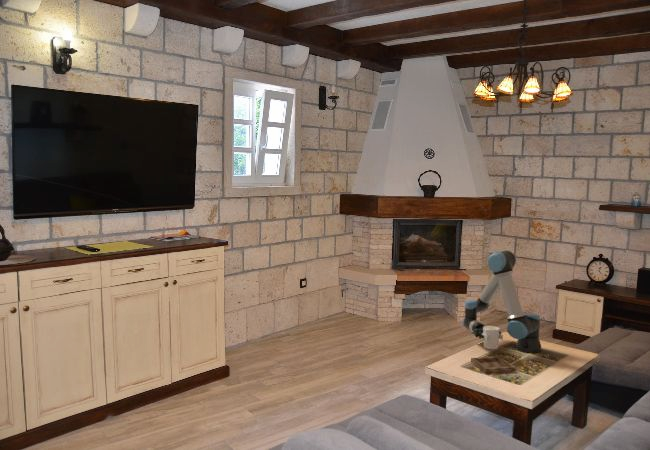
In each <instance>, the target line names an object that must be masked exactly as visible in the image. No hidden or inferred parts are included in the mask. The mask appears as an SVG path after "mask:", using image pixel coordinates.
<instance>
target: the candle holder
mask: <svg viewBox="0 0 650 450" xmlns="http://www.w3.org/2000/svg"><path fill="white" fill-rule="evenodd" d="M500 329H501V328H500V327H498V326H494V325H484V327H483V334H485V335H486V336H488V341H486V340H484V339H483V338H482V339H483V347H484V348H485V349H488V350H497V349H499V331H500ZM500 332H501V331H500Z"/></svg>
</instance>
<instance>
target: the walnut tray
mask: <svg viewBox="0 0 650 450" xmlns="http://www.w3.org/2000/svg"><path fill="white" fill-rule="evenodd" d="M470 363H471V364H472V365H473V366H475V367H476V368H478V369H479V370H480V371H482V372H483V373H484V374H486V375H487V374H498V373H499V374H500V373H502V374H503V373H513V372H516V366H514V365H513V364H511V363H509V362H508V361H507V360H506V359H504V358H503V357H501V356H481V357H479V356H478V357H471V358H470Z"/></svg>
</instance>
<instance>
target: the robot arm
mask: <svg viewBox="0 0 650 450" xmlns="http://www.w3.org/2000/svg"><path fill="white" fill-rule="evenodd" d="M516 262H517V257H516V255H515V254H514V253H513V252H512V251H510V250H503V251H502V250H501V251H498V252H497V251H496V252H494V253H491V254H490V255H489V257H488V258H487V267H488V269H489V270H490V271H491V272H492V273H493V274H492V275H491V277H490V278H489V280H488V282H487V284H485V286H484V288H483V290H482V291H481V293H480V295H478V298H477V299H476V300H475V299H466V300H465V303H464V317H463V319H462V321H461V322H462V326H464V327H465V329H468V331H471V334H472V335H474V337H475V338H478V339H484V340H486V341H488V336H486V335H485V334H483V327H484V326H485V324H483V323H481V322H479V321H478V319H477V318H478V313H481V312H484V311H487V310H488V309H489V307H490V303H491V300H492V299H493V298H494V296H495V294H496V293H497V291H498V289H499V288H500V290H501V291H500V292H501V294H502V297H503V300H504V304H505V307H506V311H507V317H506V319H507V325H506V332H507V333H508V335H509V336H510V337H511V338H513V339H516V340H517V341H516V343H515V348H516V349H517V350H518V351H520V352H524V353H530V354H537V353H540V352H542V344H541V341H540V326H541V325H540V322H541V317H540V315H539V314H537V313H532V312H523V309H522V304H521V302H520V299H519V295H518V292H517V289H516V286H515V283H514V279H513V275H512V273H513V272H514V271H513V270H514V269H513V268H514V267H515V265H516V264H517V263H516ZM499 339H500V340H501V341H503V340H504V335H503V334H502V331H499ZM484 340H483V341H484Z"/></svg>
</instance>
